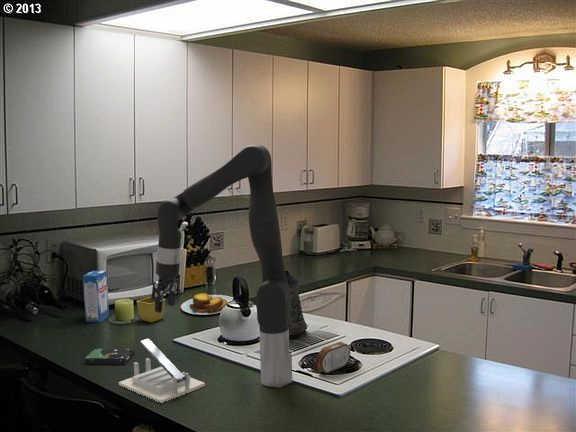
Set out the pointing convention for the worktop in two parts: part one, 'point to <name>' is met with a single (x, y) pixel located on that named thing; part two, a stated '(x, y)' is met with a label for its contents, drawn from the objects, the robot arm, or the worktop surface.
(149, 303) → the flower pot
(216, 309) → the food on plate
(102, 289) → the milk carton
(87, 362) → the disk drive
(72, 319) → the worktop surface
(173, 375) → the strap
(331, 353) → the tin
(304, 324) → the beer stein
